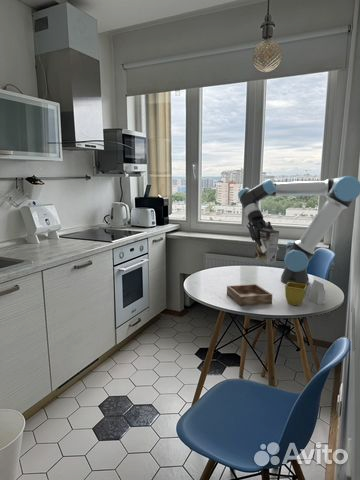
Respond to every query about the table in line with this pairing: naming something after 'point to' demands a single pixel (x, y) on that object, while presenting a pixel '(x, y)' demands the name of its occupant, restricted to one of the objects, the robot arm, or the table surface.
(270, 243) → the coffee box
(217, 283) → the table surface
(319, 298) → the grey block
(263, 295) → the tray
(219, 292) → the table surface
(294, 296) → the flower pot
